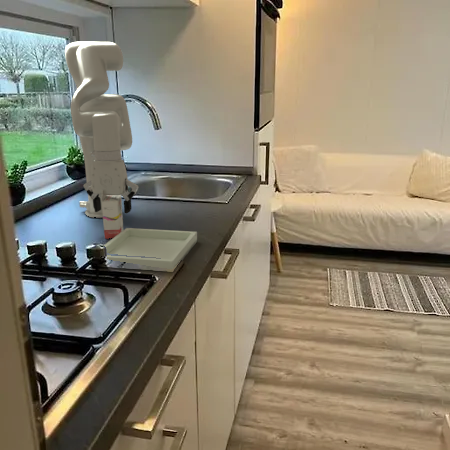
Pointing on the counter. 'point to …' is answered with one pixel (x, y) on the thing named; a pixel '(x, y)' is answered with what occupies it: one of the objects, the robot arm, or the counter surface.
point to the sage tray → (151, 246)
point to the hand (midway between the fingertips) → (112, 211)
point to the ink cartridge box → (112, 215)
